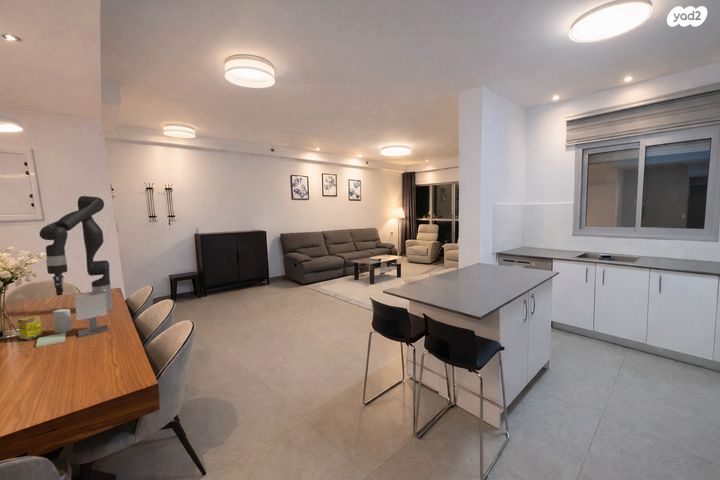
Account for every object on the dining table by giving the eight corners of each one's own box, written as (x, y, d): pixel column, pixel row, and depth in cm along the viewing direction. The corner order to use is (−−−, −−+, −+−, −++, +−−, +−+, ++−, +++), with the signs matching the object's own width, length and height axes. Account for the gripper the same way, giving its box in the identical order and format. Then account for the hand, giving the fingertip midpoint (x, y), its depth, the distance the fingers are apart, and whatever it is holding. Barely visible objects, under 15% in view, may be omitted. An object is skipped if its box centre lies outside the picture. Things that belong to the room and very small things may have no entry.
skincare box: (72, 330, 166) (70, 309, 165) (64, 333, 161) (62, 311, 160) (62, 329, 166) (60, 308, 165) (54, 332, 162) (52, 311, 161)
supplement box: (28, 340, 152) (25, 320, 151) (19, 339, 153) (17, 319, 152) (42, 336, 158) (40, 316, 157) (34, 335, 159) (31, 315, 158)
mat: (38, 340, 153) (38, 337, 153) (65, 334, 160) (65, 332, 160) (36, 347, 145) (36, 344, 145) (65, 341, 152) (64, 338, 152)
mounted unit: (78, 332, 163) (74, 294, 160) (107, 326, 171) (104, 290, 169) (78, 337, 156) (74, 297, 154) (108, 331, 165) (105, 293, 162)
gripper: (47, 263, 163) (50, 292, 164) (45, 266, 152) (49, 297, 154) (67, 261, 168) (69, 289, 170) (66, 264, 158) (69, 294, 159)
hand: (59, 293), depth 162 cm, fingers open, 8 cm apart
